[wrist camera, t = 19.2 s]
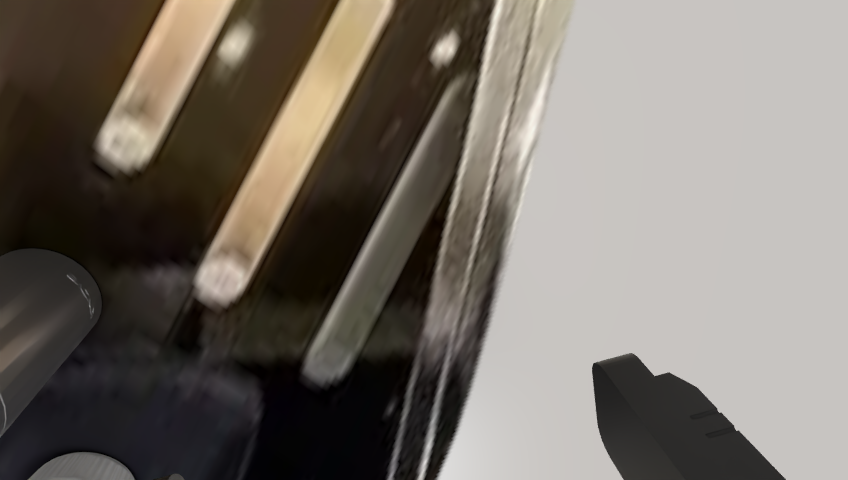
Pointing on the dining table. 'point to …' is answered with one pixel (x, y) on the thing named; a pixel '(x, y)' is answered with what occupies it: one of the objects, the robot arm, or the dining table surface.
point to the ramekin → (83, 468)
